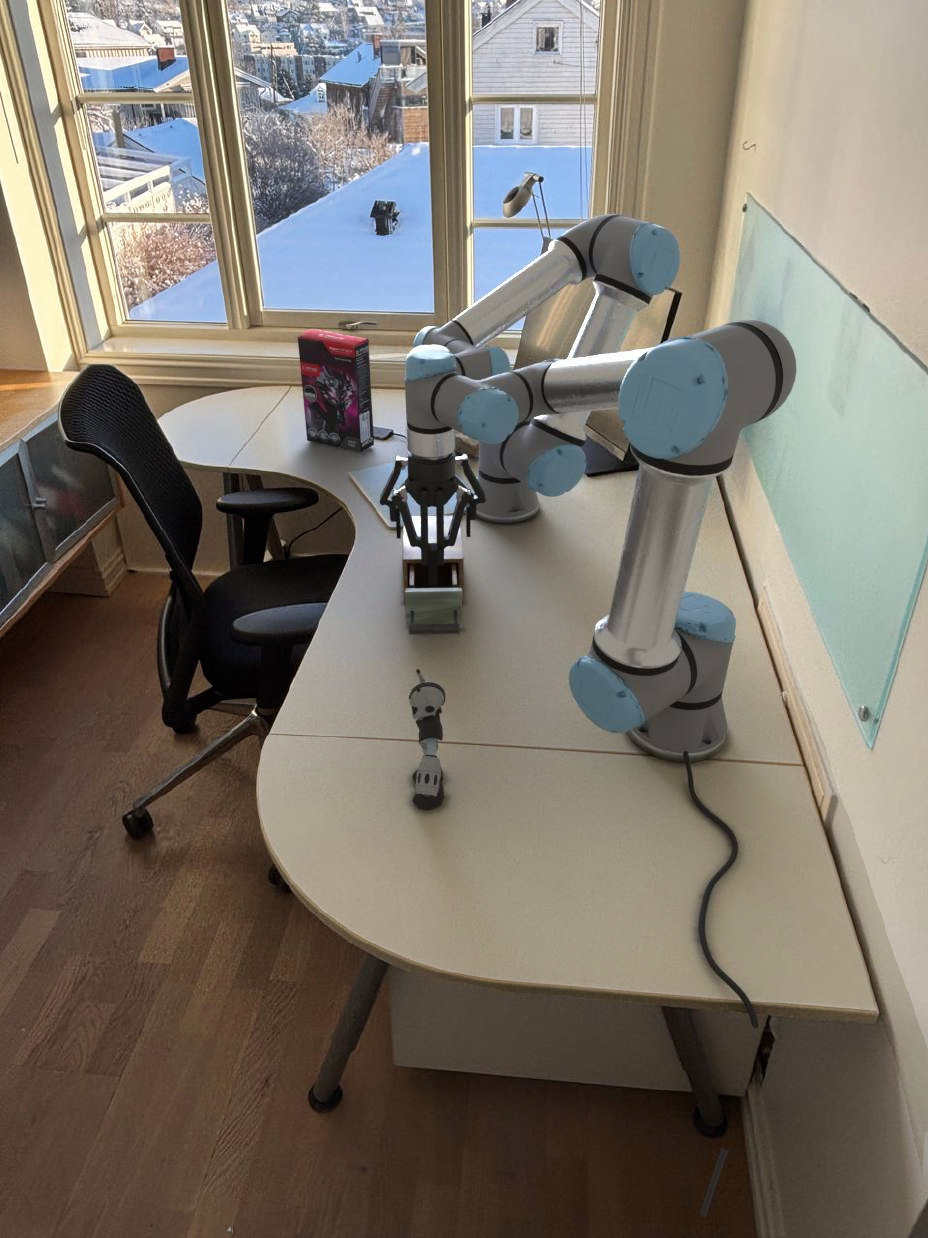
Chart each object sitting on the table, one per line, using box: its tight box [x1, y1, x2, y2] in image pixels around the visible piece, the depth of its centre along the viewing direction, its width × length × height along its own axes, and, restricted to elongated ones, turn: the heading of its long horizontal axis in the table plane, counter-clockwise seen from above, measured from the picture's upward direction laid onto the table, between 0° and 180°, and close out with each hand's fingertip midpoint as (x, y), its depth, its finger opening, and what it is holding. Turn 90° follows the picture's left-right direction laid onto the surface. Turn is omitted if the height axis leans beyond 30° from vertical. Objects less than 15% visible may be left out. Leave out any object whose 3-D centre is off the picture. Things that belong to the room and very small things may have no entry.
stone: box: [454, 430, 479, 458], centre depth 231 cm, size 21×15×6 cm
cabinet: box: [401, 515, 464, 605], centre depth 177 cm, size 17×11×10 cm, turn 2°
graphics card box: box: [297, 328, 375, 454], centre depth 227 cm, size 17×7×27 cm, turn 62°
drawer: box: [404, 563, 463, 636], centre depth 166 cm, size 22×10×8 cm, turn 2°
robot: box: [408, 668, 446, 810], centre depth 126 cm, size 20×5×20 cm, turn 3°
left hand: (433, 534), depth 181 cm, fingers open, 13 cm apart
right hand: (432, 580), depth 156 cm, fingers closed
